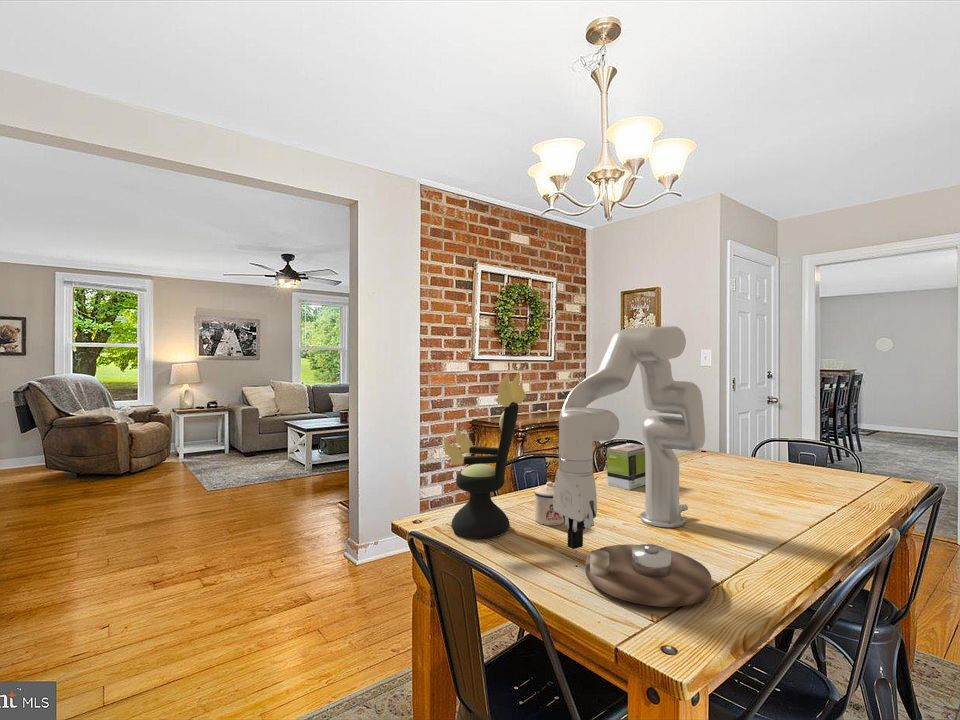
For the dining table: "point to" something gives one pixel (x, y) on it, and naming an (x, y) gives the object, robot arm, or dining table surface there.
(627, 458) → the tea box
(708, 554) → the dining table surface
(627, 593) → the turntable
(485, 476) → the toy pedestal armchair
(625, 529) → the dining table surface
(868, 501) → the dining table surface
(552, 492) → the teacup with lid
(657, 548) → the cap
